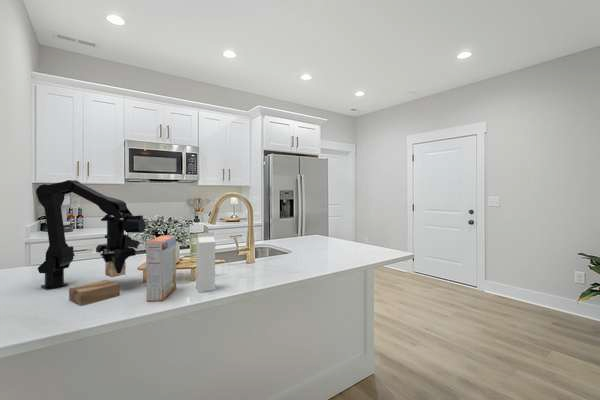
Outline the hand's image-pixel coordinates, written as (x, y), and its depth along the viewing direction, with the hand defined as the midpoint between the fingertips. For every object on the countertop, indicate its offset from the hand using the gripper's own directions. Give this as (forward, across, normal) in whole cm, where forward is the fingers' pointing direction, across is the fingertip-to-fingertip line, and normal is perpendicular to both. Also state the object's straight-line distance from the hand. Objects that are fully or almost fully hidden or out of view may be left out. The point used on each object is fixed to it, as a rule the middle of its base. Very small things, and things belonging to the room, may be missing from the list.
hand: (115, 272), depth 115 cm
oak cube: (+1, 0, 0) cm, 1 cm away
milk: (+6, -31, -18) cm, 36 cm away
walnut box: (+6, -7, +10) cm, 13 cm away
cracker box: (+6, -23, -5) cm, 24 cm away
